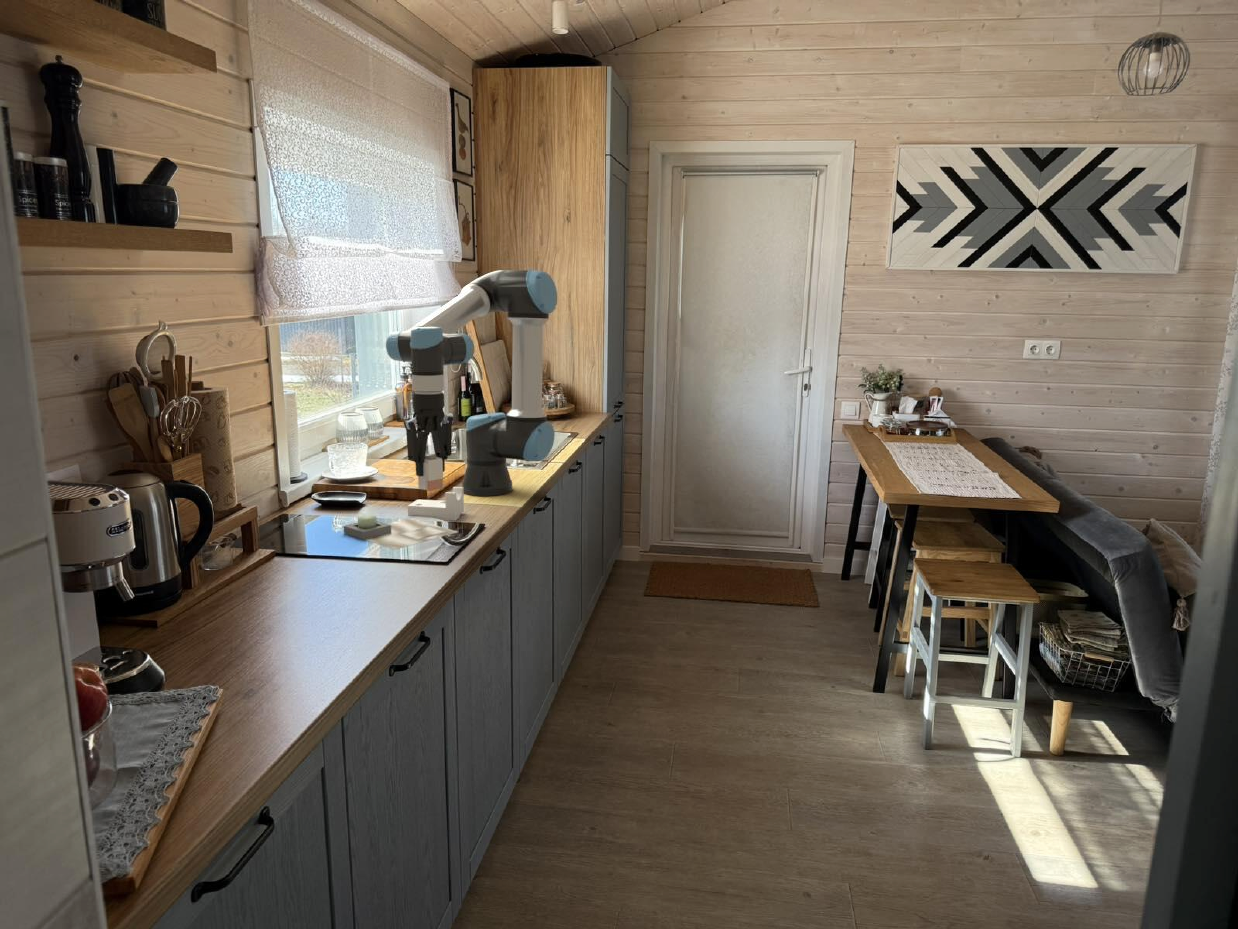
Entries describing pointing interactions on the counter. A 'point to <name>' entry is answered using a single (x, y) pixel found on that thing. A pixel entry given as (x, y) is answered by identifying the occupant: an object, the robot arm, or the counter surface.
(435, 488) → the white tall block
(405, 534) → the cloth
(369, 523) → the button
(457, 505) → the bracket
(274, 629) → the counter surface
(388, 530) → the button housing
